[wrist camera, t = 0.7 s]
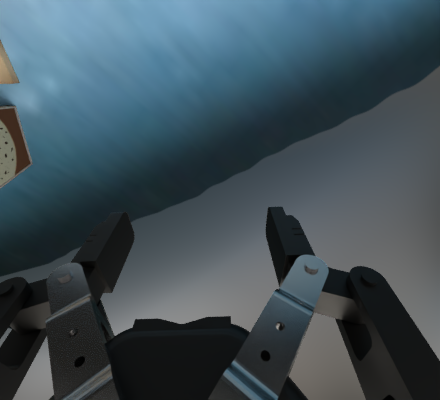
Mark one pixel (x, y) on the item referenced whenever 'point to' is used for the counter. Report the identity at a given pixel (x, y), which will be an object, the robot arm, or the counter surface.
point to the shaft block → (6, 68)
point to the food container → (12, 145)
